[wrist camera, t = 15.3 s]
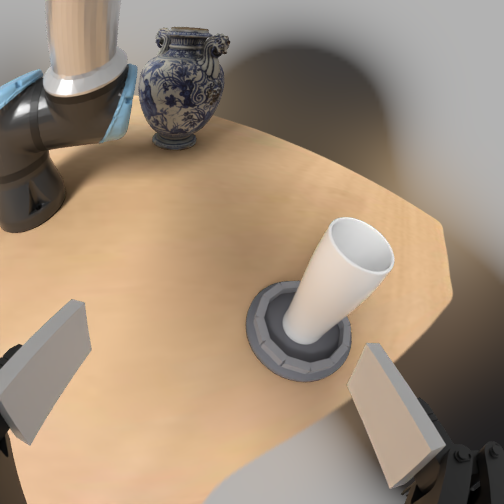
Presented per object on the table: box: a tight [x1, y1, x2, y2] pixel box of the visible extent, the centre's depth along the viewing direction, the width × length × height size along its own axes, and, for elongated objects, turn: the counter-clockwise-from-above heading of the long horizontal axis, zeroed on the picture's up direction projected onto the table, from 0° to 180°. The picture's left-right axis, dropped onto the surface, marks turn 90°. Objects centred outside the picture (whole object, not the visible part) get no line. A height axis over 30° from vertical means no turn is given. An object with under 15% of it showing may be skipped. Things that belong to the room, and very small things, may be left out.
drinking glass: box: [282, 217, 394, 345], centre depth 27 cm, size 7×7×15 cm
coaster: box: [246, 281, 351, 382], centre depth 32 cm, size 14×14×2 cm
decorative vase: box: [139, 27, 230, 150], centre depth 49 cm, size 21×19×28 cm
